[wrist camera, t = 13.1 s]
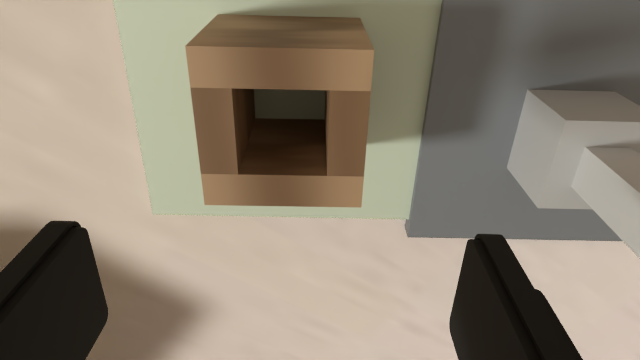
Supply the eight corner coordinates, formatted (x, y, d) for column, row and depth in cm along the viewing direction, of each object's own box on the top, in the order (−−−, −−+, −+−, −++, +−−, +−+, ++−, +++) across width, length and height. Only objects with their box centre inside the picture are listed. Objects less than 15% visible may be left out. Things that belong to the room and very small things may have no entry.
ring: (359, 17, 21) (374, 49, 16) (351, 145, 24) (361, 207, 19) (217, 14, 21) (185, 45, 16) (228, 143, 24) (204, 205, 19)
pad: (476, -97, 19) (480, -98, 19) (423, 213, 27) (425, 219, 27) (98, -110, 19) (92, -111, 19) (155, 208, 27) (152, 214, 27)
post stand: (740, -13, 21) (1150, 54, 11) (630, 231, 28) (814, 414, 18) (441, -22, 21) (566, 38, 10) (404, 227, 28) (457, 410, 17)
